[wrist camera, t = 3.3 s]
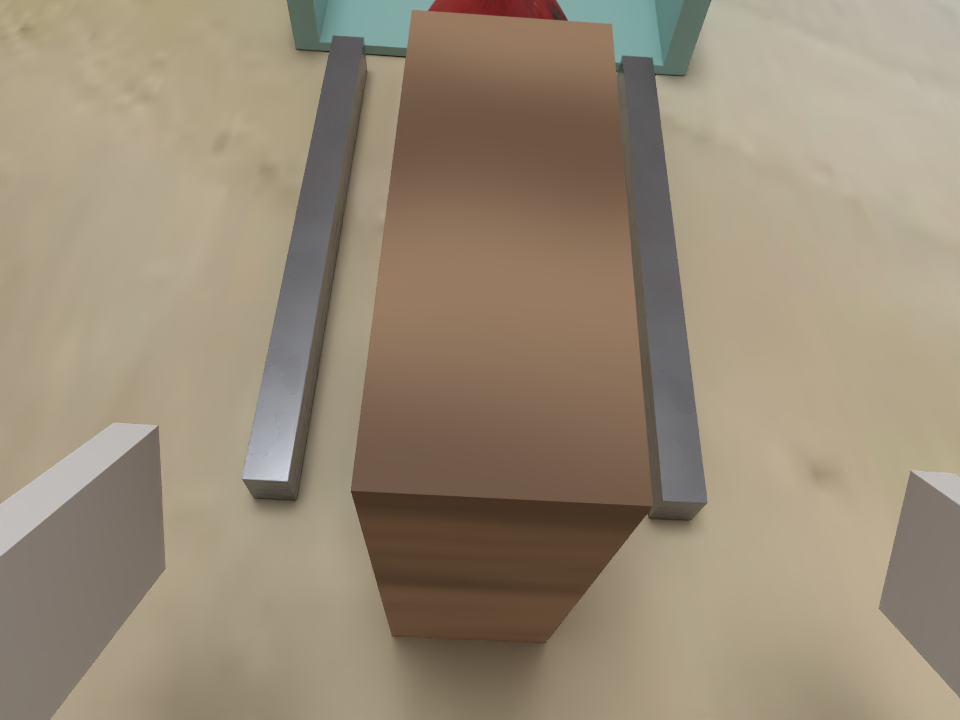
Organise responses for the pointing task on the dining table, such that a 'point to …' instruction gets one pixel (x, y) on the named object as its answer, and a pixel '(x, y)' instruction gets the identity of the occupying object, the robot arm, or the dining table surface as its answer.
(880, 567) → the dining table surface
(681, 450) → the slot rails
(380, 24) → the tray
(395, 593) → the pusher block
